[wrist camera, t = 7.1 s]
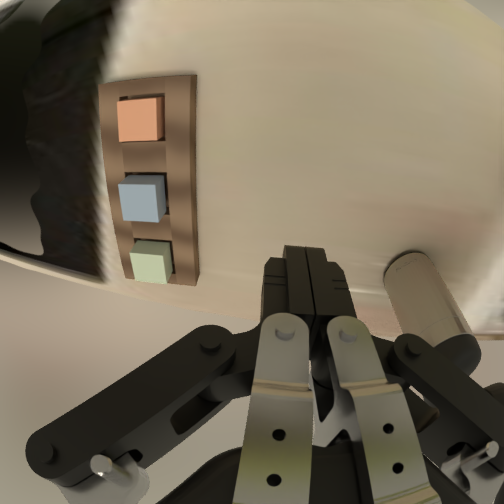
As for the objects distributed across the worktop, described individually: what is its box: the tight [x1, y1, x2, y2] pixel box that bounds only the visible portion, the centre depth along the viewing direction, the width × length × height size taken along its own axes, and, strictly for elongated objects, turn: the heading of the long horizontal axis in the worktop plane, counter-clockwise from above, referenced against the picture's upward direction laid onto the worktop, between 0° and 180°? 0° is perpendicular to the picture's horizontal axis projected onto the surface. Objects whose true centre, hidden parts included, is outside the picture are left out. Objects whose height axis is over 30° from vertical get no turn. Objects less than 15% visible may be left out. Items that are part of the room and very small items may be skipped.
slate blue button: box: [118, 175, 166, 222], centre depth 35 cm, size 5×5×3 cm
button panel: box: [99, 75, 200, 286], centre depth 37 cm, size 30×12×3 cm, turn 176°
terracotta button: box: [117, 96, 165, 142], centre depth 30 cm, size 5×5×3 cm
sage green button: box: [129, 240, 173, 284], centre depth 40 cm, size 5×5×3 cm
